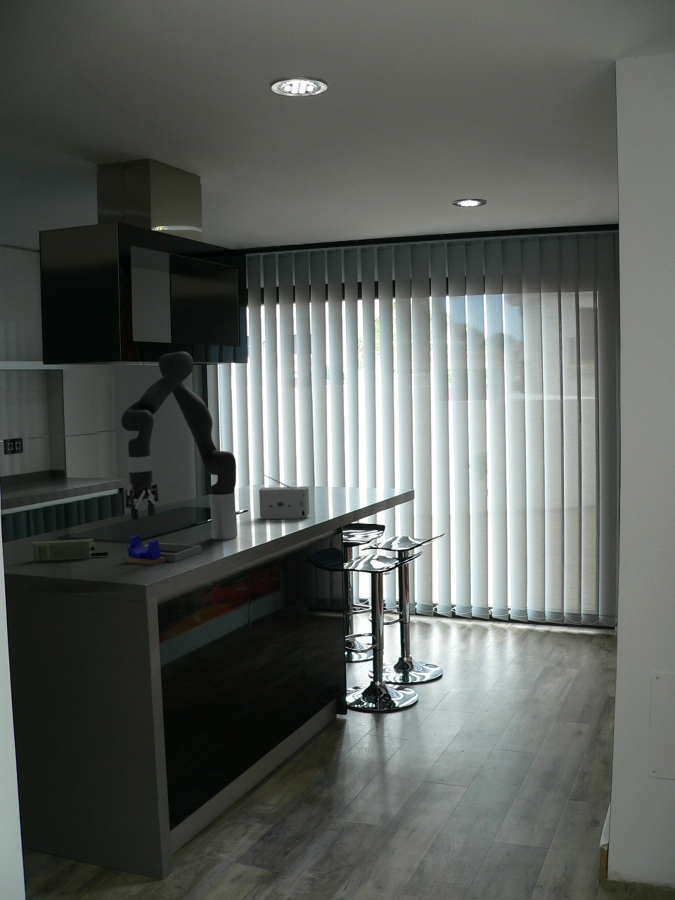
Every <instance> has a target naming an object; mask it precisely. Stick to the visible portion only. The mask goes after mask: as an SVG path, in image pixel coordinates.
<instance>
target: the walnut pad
mask: <svg viewBox="0 0 675 900" xmlns="http://www.w3.org/2000/svg"><path fill="white" fill-rule="evenodd" d="M124 562H125V563H130V564H132V563H133V564H143V565H153V564H157V565H159V563H160V564H162V562H163V563H164V562H166V561H165V557H160V558H157V559H155V560H152V559H148V558H144V557H142V558H140V559H139V558H135V557H131V556H129V557H127V556H126V557H124Z"/></svg>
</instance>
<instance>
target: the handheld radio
mask: <svg viewBox="0 0 675 900" xmlns="http://www.w3.org/2000/svg"><path fill="white" fill-rule="evenodd" d="M94 543H95V542H94V538H88V539H87V538H86V539H85V538H84V539H67V540H50V541H47V540H45V541H33V542H32V549H33V561H34V562H42V561H43V562H44V561H60V560H61V561H63V560H79V559H92V558H93V557H105V556H108V555H109V553H108V551H103V552H102V551H101V552H92V551H95V549H96V548H95V546H92V545H95V544H94Z"/></svg>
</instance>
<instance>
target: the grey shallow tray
mask: <svg viewBox="0 0 675 900" xmlns="http://www.w3.org/2000/svg"><path fill="white" fill-rule="evenodd" d="M143 546H144V547H145V548H147V549H148V544H145V545H144V544H143ZM159 548H160V553H161V557H165V562H172V563H177V562H179V561H182V560H185V559H188V558H190V557H193V556H196V555H200V554H201V553H203V550H202V549H203V548H202V545H199V544H198V545H196V544H195V545H194V544H185V543H184V544H182V543H171V542H170V543H167V542H159ZM161 551H165V552H161ZM126 552H127V553H126V554H127V556H126V557H129V556H128V550H126ZM172 552H175V553H172Z"/></svg>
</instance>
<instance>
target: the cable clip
mask: <svg viewBox="0 0 675 900" xmlns="http://www.w3.org/2000/svg"><path fill="white" fill-rule="evenodd" d="M128 539H129V546H128V547H126V548H127V550H126V551H128V556H131V557H135V558H139V559H140V558H142V557H144V558H148V559H152V560H155V559H157V558H160V557H161V553H162V552H161V550H160V548H159V543H160V542H159V539H154V540H151V541H148V542H147V543H148V544H147V545H148V549H147V548H145V547H144V544H143V543H142V541H141V538H140V535H138V534H135V535H133V536H130V537H129V538H128ZM160 552H161V553H160Z"/></svg>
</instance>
